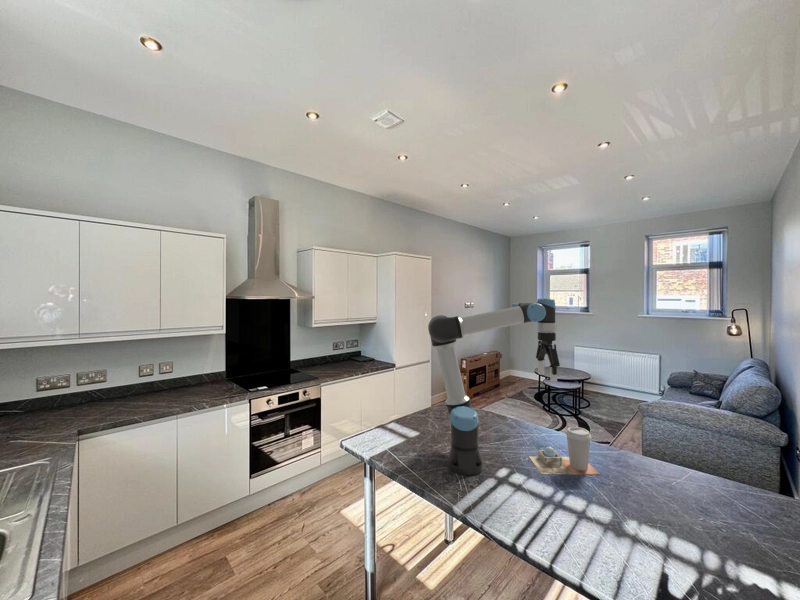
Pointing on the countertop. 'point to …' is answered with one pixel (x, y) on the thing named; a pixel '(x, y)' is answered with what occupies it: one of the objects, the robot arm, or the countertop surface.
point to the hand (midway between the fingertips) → (547, 377)
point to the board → (558, 465)
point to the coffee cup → (578, 447)
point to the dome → (549, 452)
